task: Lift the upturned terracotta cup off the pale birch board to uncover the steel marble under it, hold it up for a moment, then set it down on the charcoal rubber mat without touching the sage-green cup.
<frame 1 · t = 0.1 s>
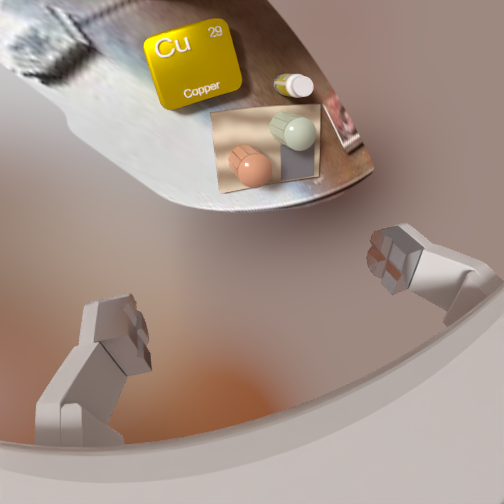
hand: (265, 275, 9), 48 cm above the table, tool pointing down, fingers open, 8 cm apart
charcoal mat: (297, 160, 58), resting on birch board
sage cup: (284, 126, 52), point 1 cm above the table, touching birch board
supplement bottle: (283, 84, 48), on the table
element tile: (191, 63, 41), on the table
terracotta cup: (243, 159, 54), point 1 cm above the table, touching birch board
birch board: (268, 144, 55), on the table
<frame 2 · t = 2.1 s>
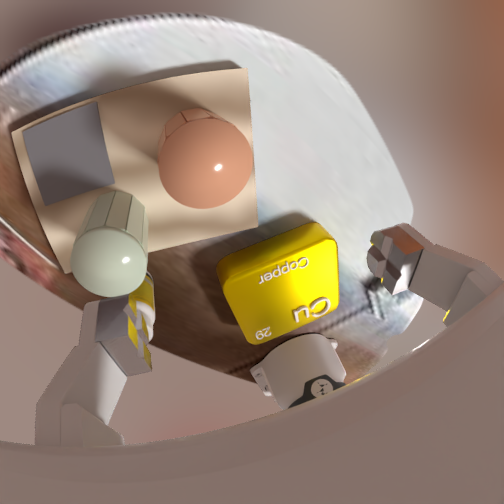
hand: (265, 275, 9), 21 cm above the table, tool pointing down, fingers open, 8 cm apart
charcoal mat: (67, 155, 20), resting on birch board
sage cup: (117, 221, 25), point 1 cm above the table, touching birch board
supplement bottle: (134, 279, 32), on the table
element tile: (277, 277, 39), on the table
terracotta cup: (194, 142, 24), point 1 cm above the table, touching birch board
birch board: (136, 172, 25), on the table
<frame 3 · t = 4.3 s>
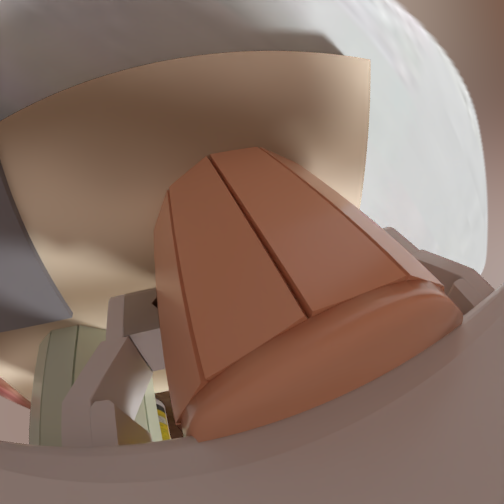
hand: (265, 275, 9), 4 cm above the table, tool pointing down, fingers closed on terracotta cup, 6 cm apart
sage cup: (93, 364, 12), point 1 cm above the table, touching birch board
supplement bottle: (136, 403, 19), on the table
terracotta cup: (241, 231, 11), point 1 cm above the table, touching birch board, gripper
birch board: (113, 281, 12), on the table
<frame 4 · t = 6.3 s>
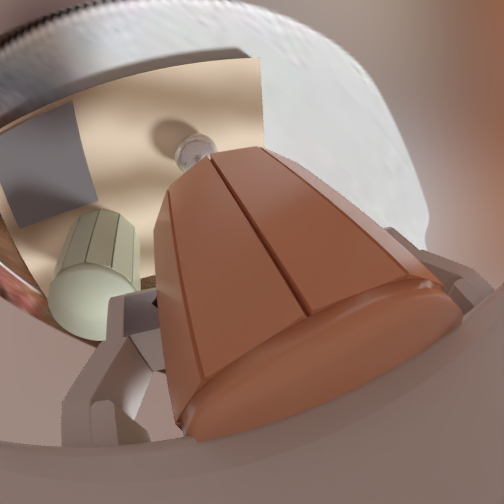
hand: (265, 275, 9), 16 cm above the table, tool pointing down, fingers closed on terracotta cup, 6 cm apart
charcoal mat: (39, 168, 15), resting on birch board
sage cup: (103, 244, 21), point 1 cm above the table, touching birch board
steel marble: (196, 154, 18), point 3 cm above the table, touching birch board
terracotta cup: (241, 231, 11), point 13 cm above the table, touching gripper
birch board: (123, 185, 20), on the table
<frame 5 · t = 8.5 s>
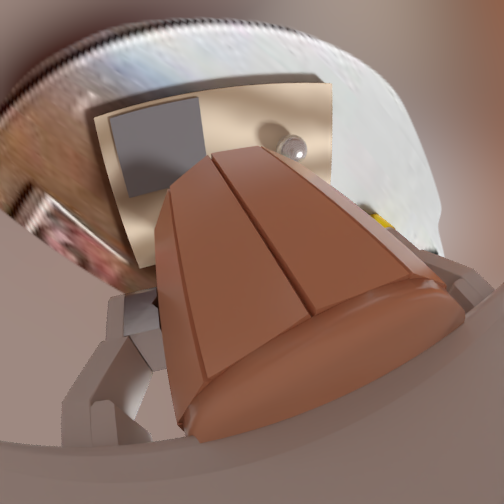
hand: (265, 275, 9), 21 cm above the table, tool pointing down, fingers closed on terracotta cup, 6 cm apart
charcoal mat: (160, 147, 23), resting on birch board
steel marble: (291, 149, 25), point 3 cm above the table, touching birch board
terracotta cup: (242, 230, 11), point 18 cm above the table, touching gripper
birch board: (226, 169, 28), on the table
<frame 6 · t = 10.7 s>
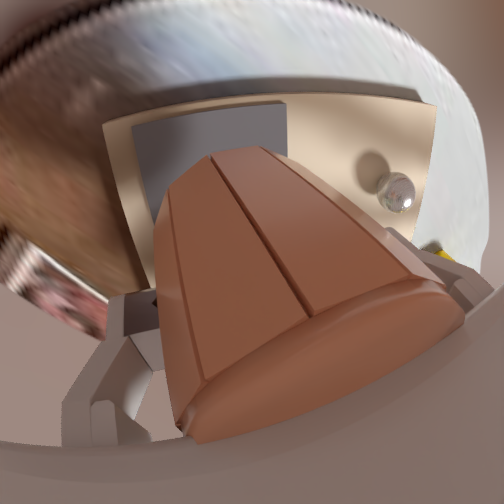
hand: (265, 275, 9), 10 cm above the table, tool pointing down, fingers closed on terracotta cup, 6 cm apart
charcoal mat: (218, 180, 15), resting on birch board
steel marble: (396, 192, 17), point 3 cm above the table, touching birch board
terracotta cup: (241, 230, 11), point 7 cm above the table, touching gripper
birch board: (303, 211, 20), on the table
when the fingers open (6 cm above the table, at t = 12.5 s): terracotta cup drops 1 cm, resting on charcoal mat.
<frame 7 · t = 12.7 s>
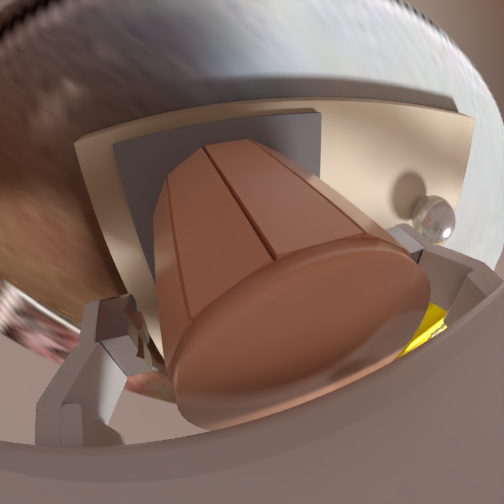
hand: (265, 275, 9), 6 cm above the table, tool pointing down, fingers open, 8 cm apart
charcoal mat: (231, 213, 12), resting on birch board
steel marble: (433, 219, 14), point 3 cm above the table, touching birch board
element tile: (419, 319, 32), on the table
terracotta cup: (233, 216, 12), point 2 cm above the table, touching charcoal mat
birch board: (328, 240, 17), on the table
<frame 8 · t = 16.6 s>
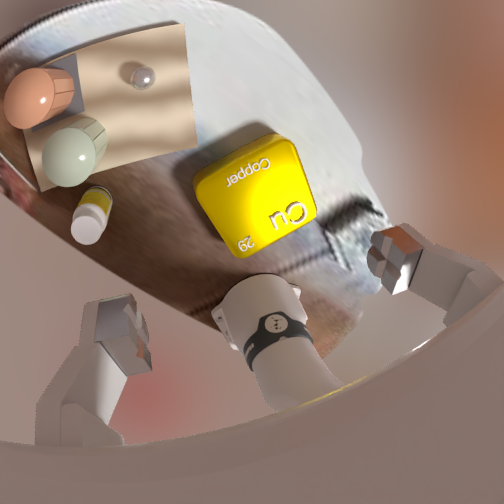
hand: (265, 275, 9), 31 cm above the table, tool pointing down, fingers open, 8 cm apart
charcoal mat: (52, 93, 23), resting on birch board
sage cup: (84, 142, 28), point 1 cm above the table, touching birch board
supplement bottle: (97, 200, 35), on the table
steel marble: (143, 78, 25), point 3 cm above the table, touching birch board
element tile: (252, 191, 42), on the table
terracotta cup: (51, 93, 22), point 2 cm above the table, touching charcoal mat
birch board: (101, 105, 27), on the table
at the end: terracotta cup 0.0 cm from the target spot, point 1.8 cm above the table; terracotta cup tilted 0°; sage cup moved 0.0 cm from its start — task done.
